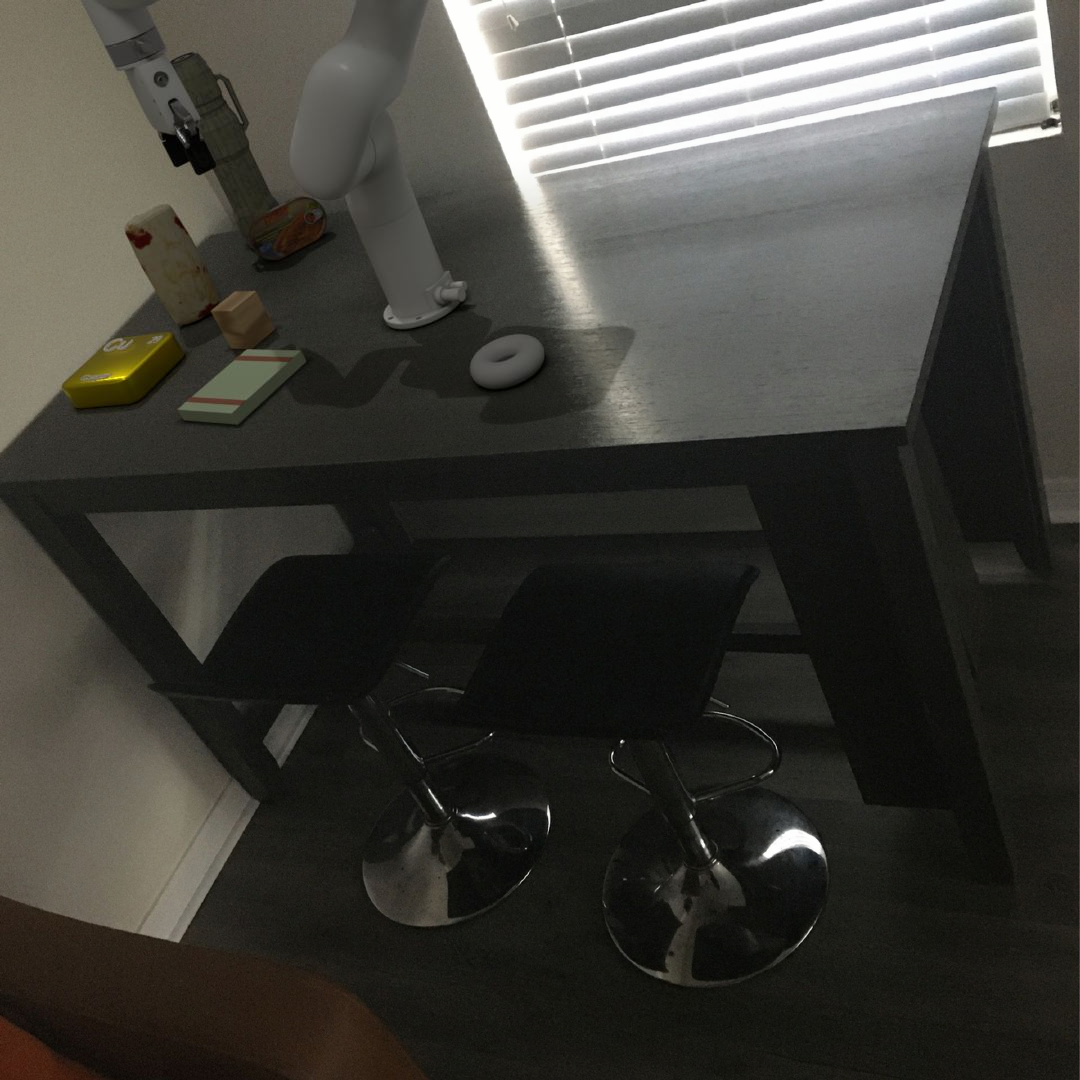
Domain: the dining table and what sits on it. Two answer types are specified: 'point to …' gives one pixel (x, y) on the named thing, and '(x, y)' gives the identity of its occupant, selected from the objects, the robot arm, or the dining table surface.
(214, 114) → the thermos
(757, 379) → the dining table surface
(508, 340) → the donut
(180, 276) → the food model
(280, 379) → the towel
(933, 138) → the dining table surface
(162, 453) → the dining table surface
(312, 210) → the tin
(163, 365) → the element tile
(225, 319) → the block
